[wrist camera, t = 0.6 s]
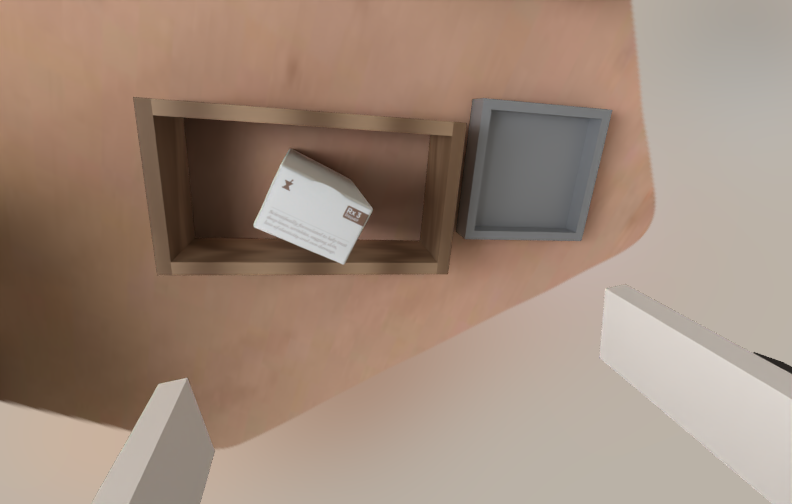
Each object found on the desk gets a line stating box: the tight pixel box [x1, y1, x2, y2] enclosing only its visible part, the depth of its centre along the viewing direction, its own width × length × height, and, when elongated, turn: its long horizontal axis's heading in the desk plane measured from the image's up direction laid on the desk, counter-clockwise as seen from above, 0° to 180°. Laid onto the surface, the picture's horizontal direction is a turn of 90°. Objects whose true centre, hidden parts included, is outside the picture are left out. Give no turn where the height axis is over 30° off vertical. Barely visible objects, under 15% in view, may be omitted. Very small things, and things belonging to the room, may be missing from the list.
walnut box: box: [133, 97, 467, 275], centre depth 31 cm, size 22×12×6 cm, turn 86°
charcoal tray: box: [456, 98, 612, 241], centre depth 36 cm, size 12×12×2 cm
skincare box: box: [253, 148, 373, 265], centre depth 28 cm, size 6×4×12 cm
